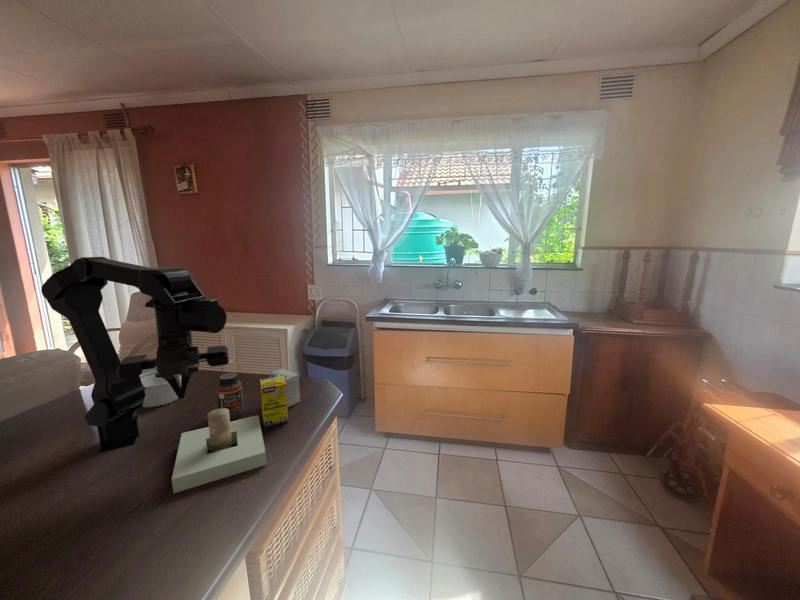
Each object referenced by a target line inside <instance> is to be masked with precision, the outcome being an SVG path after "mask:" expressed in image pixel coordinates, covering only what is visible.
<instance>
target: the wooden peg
mask: <svg viewBox="0 0 800 600" xmlns="http://www.w3.org/2000/svg"><path fill="white" fill-rule="evenodd" d="M206 416H207V424H208V427H209V434H210V446H211V450H210V451H211V453H213V452H216V451H220V450H224V449H228V448H231V447H233V444H232V436H231V426H230V422H231V420H230V416H229V410H228V409H226V408H220V409H218V408H215V409H213V410H211V411H209V412H208V413H207V415H206Z"/></svg>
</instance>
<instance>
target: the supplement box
mask: <svg viewBox="0 0 800 600" xmlns="http://www.w3.org/2000/svg"><path fill="white" fill-rule="evenodd" d="M259 389H260V400H261V401H260V402H261V405H260V406H261V417H262V423H263V424H262V425H263V428H264V429H266V428H270V427H273V426H277V425H278V426H279V425H282V424H288V423H289V413H288V411H289V410H288V407H287V390H286V382H285V379H284V376H279V377H272V378H269V377H268V378H260V379H259Z"/></svg>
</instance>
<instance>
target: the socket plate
mask: <svg viewBox="0 0 800 600" xmlns="http://www.w3.org/2000/svg"><path fill="white" fill-rule="evenodd" d="M259 416H260V415H259V414H258V415H254V416H253V415H252V416H249V417H244V418H239V419H236V420H233V421H231V420H230V426H231V436H232V445H234V444H237V445H235V446H231V448H228V449H224V450H220V451H216V452H210V453H208V452H209V451H212V450H211V446H210V434H209V426H206V427H202V428H198V429H197V428H196V429H195V430H189V431H185V432H181V435H180V439H179V443H178V448H177V453H176V458H175V463H174V467H173V472H172V476H171V483H172V484H171V485H172V490H173V494H176V493H180V492H182V491H186V490H189V489H193V488H196V487H200V486H202V485H205V484H208V483H213V482H215V481H218V480H221V479H222V480H223V479H224V478H228V477H232V476H234V475H238V474H240V473H245V472H247V471H251V470H254V469H257V468H260V467H263V466H267V453H266V447H265V442H264V438H263V432H262V427H261V422H260V417H259Z"/></svg>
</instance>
